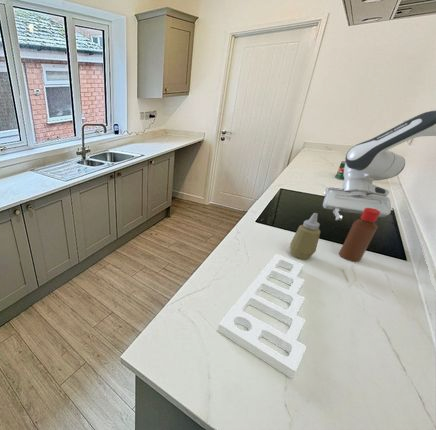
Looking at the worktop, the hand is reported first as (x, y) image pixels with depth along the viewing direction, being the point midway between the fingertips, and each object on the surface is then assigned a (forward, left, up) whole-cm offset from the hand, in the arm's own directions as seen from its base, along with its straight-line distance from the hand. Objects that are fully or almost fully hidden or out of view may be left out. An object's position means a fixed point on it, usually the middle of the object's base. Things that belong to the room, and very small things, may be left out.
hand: (353, 222), depth 101 cm
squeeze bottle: (+17, +15, -11) cm, 25 cm away
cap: (0, +8, +6) cm, 10 cm away
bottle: (0, +8, -11) cm, 13 cm away
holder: (+25, +47, -11) cm, 54 cm away
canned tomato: (-21, -100, -11) cm, 102 cm away
